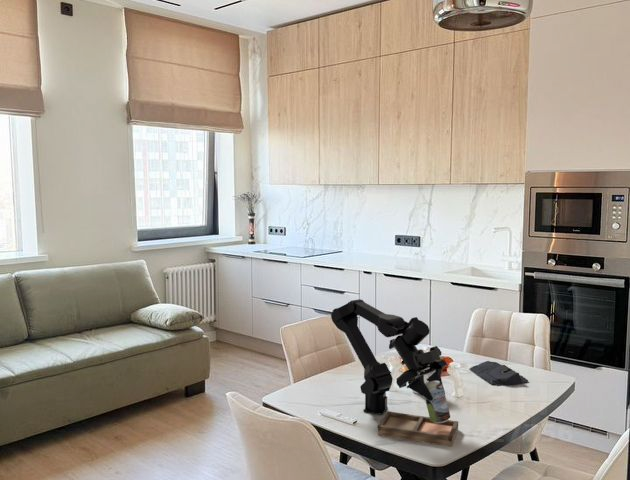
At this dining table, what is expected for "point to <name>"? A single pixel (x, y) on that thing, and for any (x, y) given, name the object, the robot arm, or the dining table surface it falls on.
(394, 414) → the divided wooden tray
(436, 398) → the beverage can
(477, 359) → the dining table surface
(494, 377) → the dark slate chunk
